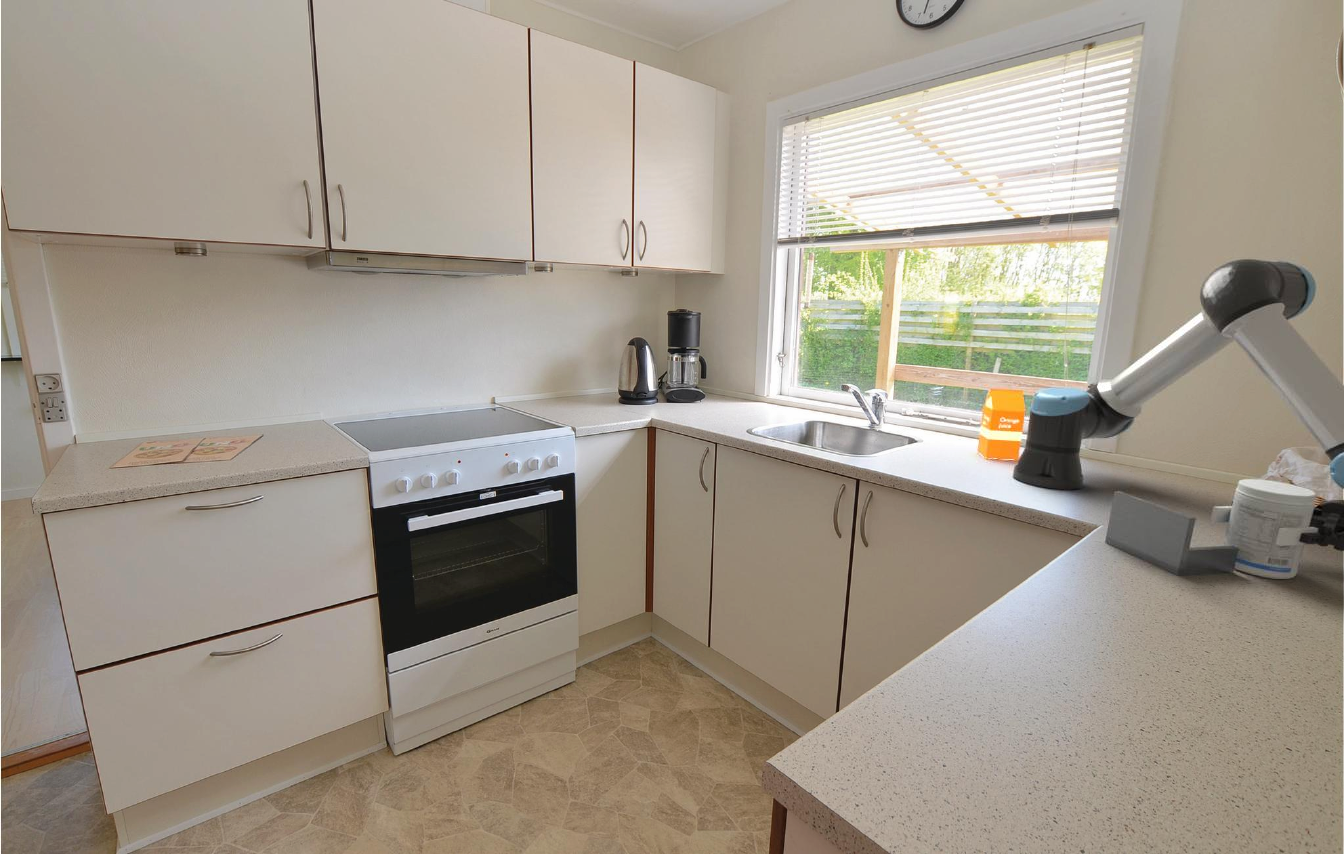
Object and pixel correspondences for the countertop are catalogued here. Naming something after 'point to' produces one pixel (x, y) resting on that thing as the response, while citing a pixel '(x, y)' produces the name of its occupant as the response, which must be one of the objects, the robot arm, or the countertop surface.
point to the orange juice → (1002, 424)
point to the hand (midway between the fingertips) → (1245, 525)
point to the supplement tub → (1267, 526)
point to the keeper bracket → (1163, 538)
